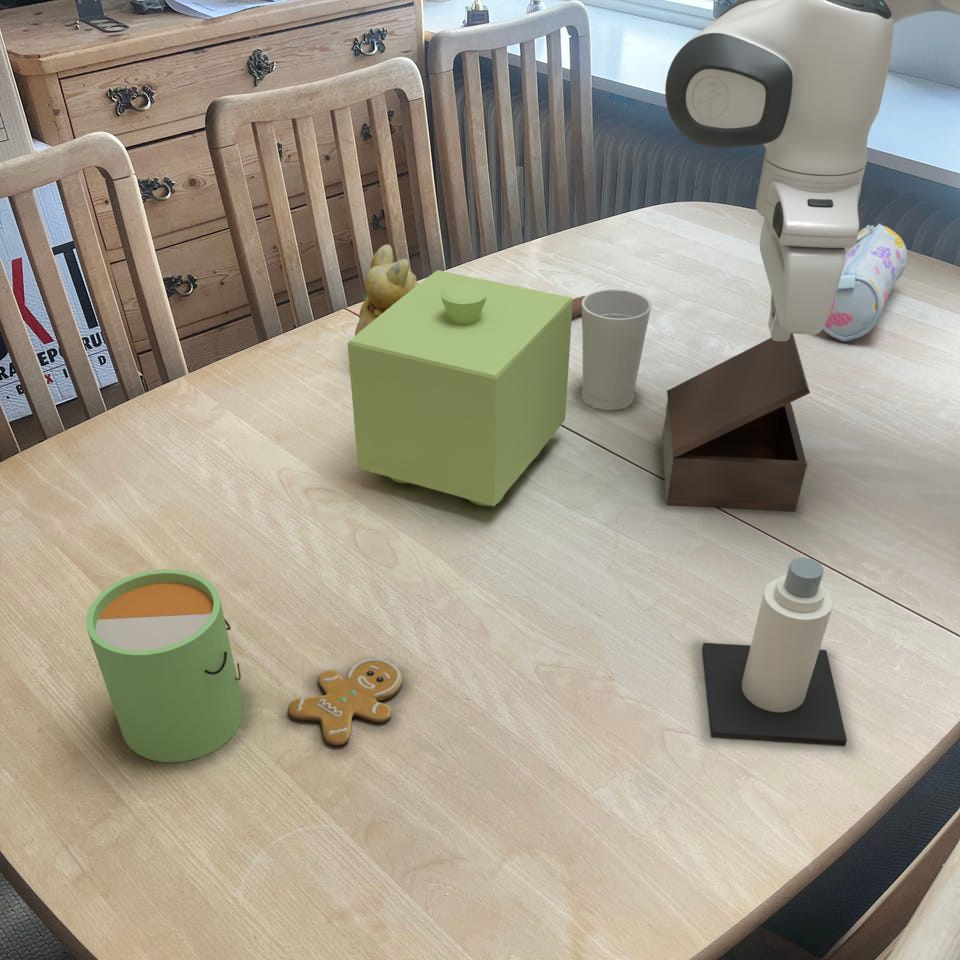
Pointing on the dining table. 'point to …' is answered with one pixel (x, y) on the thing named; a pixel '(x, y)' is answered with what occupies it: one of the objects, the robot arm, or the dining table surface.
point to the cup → (612, 346)
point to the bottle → (787, 637)
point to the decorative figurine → (384, 285)
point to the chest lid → (735, 393)
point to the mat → (748, 721)
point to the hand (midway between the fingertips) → (778, 334)
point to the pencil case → (866, 282)
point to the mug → (167, 664)
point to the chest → (739, 466)
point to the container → (460, 384)
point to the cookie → (350, 698)
